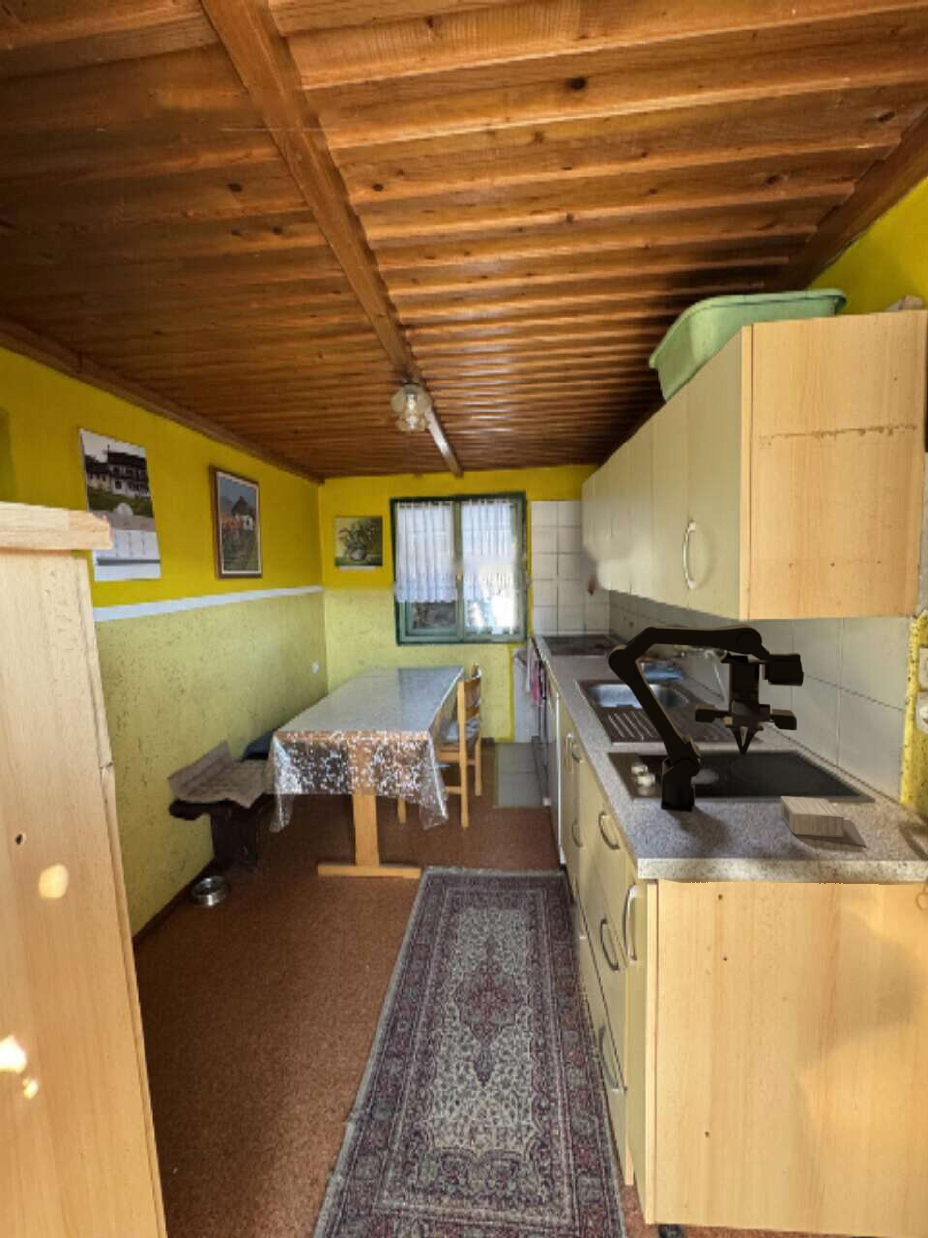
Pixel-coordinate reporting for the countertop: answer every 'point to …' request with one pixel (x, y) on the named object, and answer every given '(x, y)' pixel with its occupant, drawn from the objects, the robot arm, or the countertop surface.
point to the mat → (849, 837)
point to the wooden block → (812, 816)
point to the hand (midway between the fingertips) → (742, 754)
